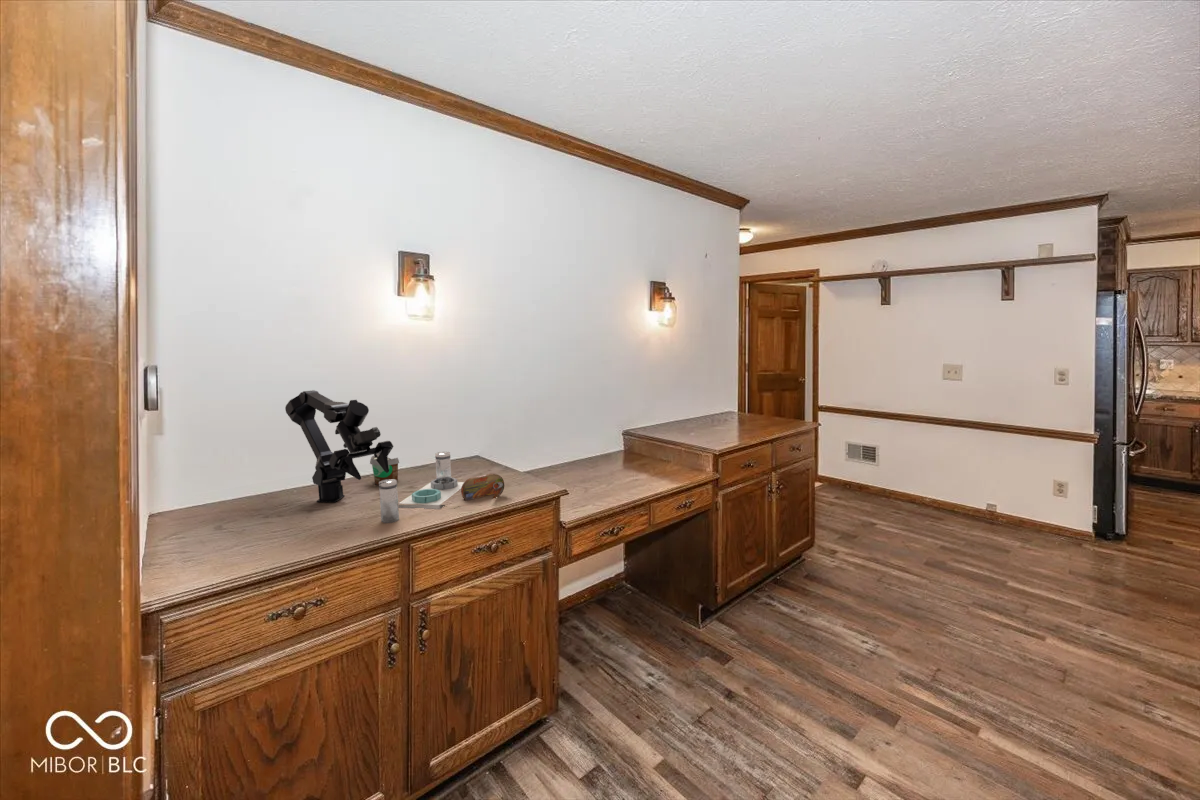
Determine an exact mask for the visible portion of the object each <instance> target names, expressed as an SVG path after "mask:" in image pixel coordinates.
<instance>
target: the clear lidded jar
mask: <svg viewBox="0 0 1200 800" xmlns="http://www.w3.org/2000/svg"><path fill="white" fill-rule="evenodd" d="M451 462H452V461H451V452H449V451H439V452H438V451H437V452H436V453H435V474H436V479H437V483H442V484H444V483H450V482H451V477H452V467H451V466H452V464H451Z"/></svg>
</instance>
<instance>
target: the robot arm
mask: <svg viewBox="0 0 1200 800" xmlns="http://www.w3.org/2000/svg"><path fill="white" fill-rule="evenodd" d="M317 411H319V412H320V413H322V414H323V418H324V419H325V420H326V421H327V422H328V423H330V424H336V423H337V425H336V429H334V430H335V431H334V434H335V435H339V436H340V437H341V439H342V441H343V448H344V449H343V448H342V449H339V450H338V449H337V450H333V451H332V450H331V448H330V447H329V444H328V443H327V440H326V439H325V437H324V435H323V433H322V431H321V429H320V427H319V425H318V422H317V421H316V419H315V417H316V414H317V413H316V412H317ZM369 411H370V410H369V407H368V405H366V404H364V403H362V402H359V401H358V400H357V399H350V400H349V402H343V401H335V400H332V399H331V398H328V397H326V396H325V395H322V394H321V393H319V391H317V390H315V389H312V390H303V391H302V392H300V393H299V394H298V395H297V396H295V397H293V398H291V399H290V400H289V401H288V402H287V404H286V405H285V413H286V414H287V416H288V418H289V419H290V420H291V421H292V422H293V423H295V424H296V425H298V426H300V428H301V430H302V433H303V434H304V436H305V438H306V440H307V443H308V444H309V447H310V448H311V450H312V452H313V454H314V456H315V459H316V463H315V466H314V467H315V472H314V473H313V476H312V479H311V480H312V484H314V485H316V486H317V488H318V491H317V492H318V499H317V500H316V503H336V501H337V502H338V501H340V500H341V499H343V498H344V497H345V495H344V489H343V484H342V482H341V481H345V480H346V475H347V474H348V475H350V476H352V477H354V479H356V480H358V481H361V479H362V476H361V473H360V472H359V470H358V469H357V467H356V464H355V463H354V461H353V459H357V458H363V457H368V456H375V457H376V458H377V460H376V461H377V462H378V463H379V464H380V466H381V467H382V468H383V470H384V471H385V472H386V473H388V472H389V467H388V458H389V454H391V451H392V450H393V448H394V444H393V443H392V441H390V440H385V441H379V442H378V443H376V446H375V447H372V446H373V444H374V443H373V442H374V441H376V440H377V439H379V437H381V434H382V433H381V431H380V429H379V428H378V427H377V426H375V427H371V428H370V429H366V430H362V431H361V429H360V428H359V427H361V426H362V425H363V424H364V422H365V419H366V417H367V416H368V414H369ZM342 497H343V498H342ZM339 499H340V500H339Z"/></svg>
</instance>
